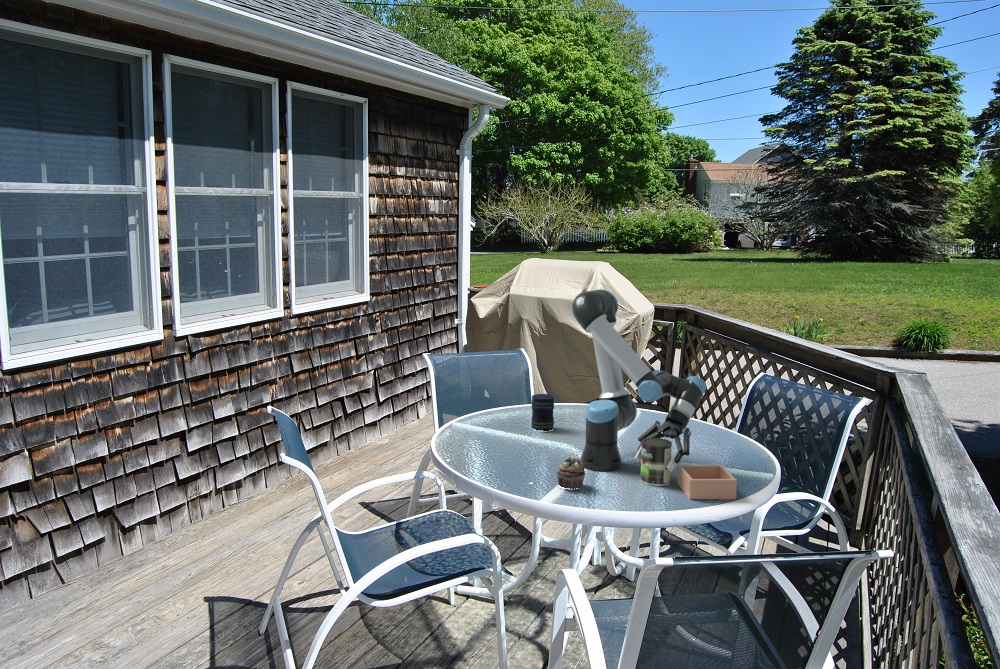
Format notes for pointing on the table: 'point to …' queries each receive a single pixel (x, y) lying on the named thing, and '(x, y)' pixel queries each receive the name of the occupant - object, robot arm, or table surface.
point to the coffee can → (655, 461)
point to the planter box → (706, 482)
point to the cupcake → (571, 473)
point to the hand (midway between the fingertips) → (652, 464)
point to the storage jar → (542, 412)
